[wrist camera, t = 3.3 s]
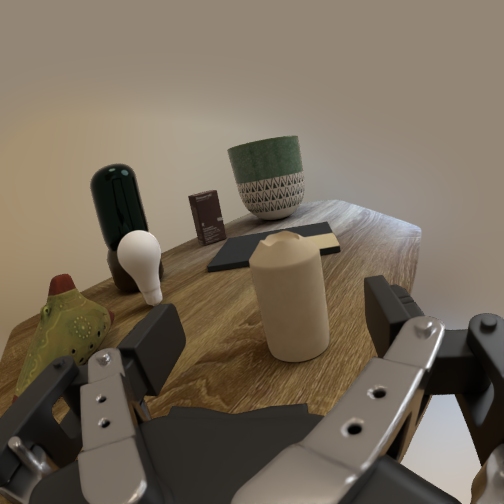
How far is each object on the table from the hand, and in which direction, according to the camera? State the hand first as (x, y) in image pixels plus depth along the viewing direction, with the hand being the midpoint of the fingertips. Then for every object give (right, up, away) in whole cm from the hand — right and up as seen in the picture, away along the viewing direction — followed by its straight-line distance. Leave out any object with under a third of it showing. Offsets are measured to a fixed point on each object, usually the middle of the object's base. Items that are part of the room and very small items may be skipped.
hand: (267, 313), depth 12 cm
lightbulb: (-14, -5, +29) cm, 32 cm away
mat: (+4, +4, +44) cm, 45 cm away
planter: (+7, +12, +71) cm, 72 cm away
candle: (+4, -6, +14) cm, 15 cm away
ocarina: (-20, -11, +14) cm, 27 cm away
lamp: (-21, -3, +39) cm, 45 cm away
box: (-10, +5, +60) cm, 61 cm away
